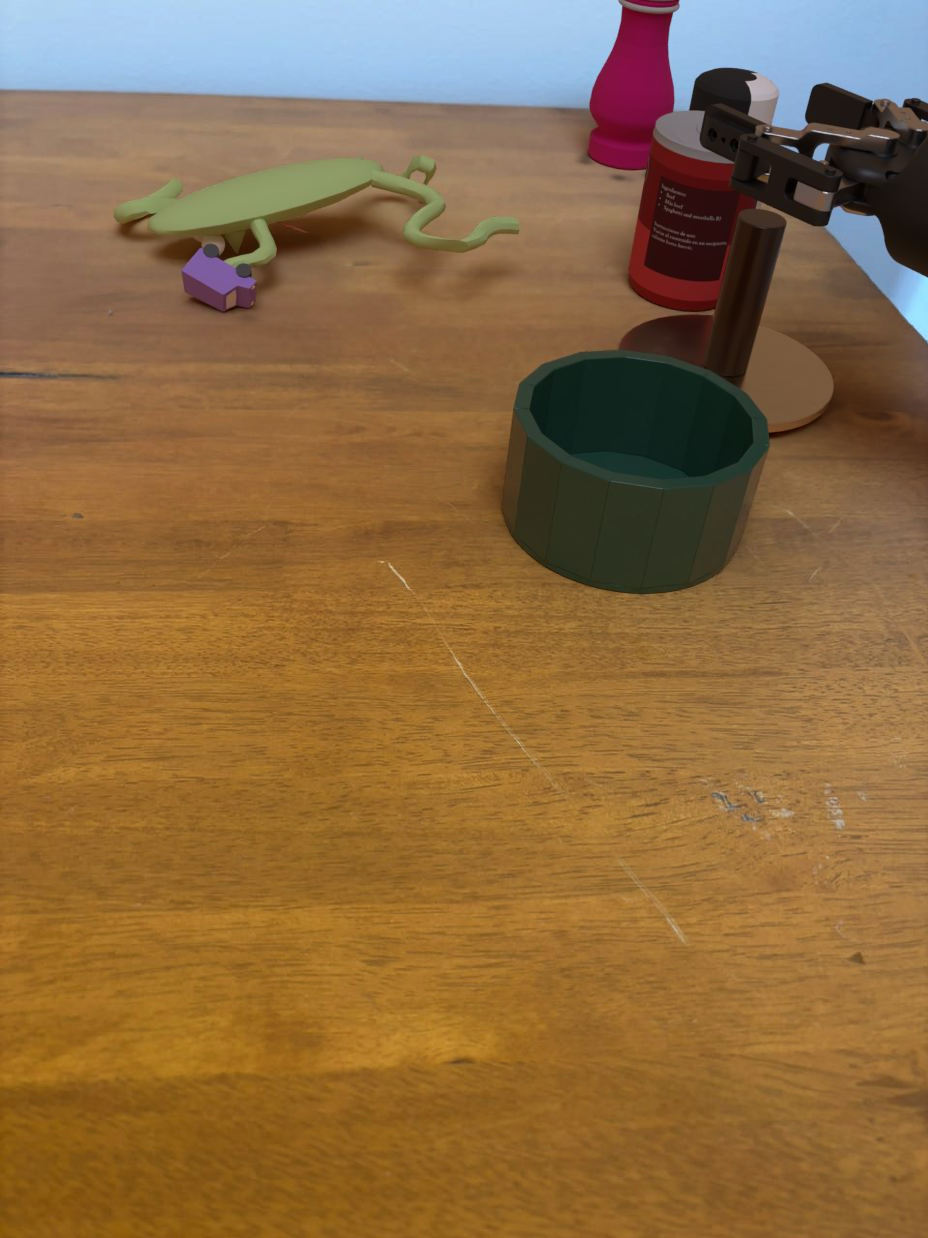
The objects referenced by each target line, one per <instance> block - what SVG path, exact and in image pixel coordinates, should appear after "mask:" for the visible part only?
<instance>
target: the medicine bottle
mask: <svg viewBox="0 0 928 1238" xmlns="http://www.w3.org/2000/svg"><path fill="white" fill-rule="evenodd" d="M779 95H780V90H779V87H778V86H777V84H776V83H775V82H774V81H773V80H772V79H770V78H768V77H767V76H765V75H763V74H762V73H760V72H756V71H754V70H750V69H745V68H738V67H717V68H713V69H709V70H707V71H703V72H701V73H700V74H699V75H698V76H696V77H695V79H694V83H693V88H692V92H691V98H690V101H689V103H690V104H689V108H688V111H705V110H706V108H707V107H708V106H710V105H714V104H719V103H721V104H724V105H726V106H728V107H731V108H733V109H735V110H737V111H740V112H742V113H744V114H746V115H749V116H751V117H753V118H755V119H757V120H760V121H762V122H764V123H766V124H769V125H772V126H773V122H774V121H773V120H774V117H775V113H776V108H777V104H778V100H779ZM762 204H763V203H762V202H760V201H757V200H756V204H755V208H754V209H762V208H761V207H762Z"/></svg>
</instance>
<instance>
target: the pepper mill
mask: <svg viewBox="0 0 928 1238" xmlns="http://www.w3.org/2000/svg"><path fill="white" fill-rule="evenodd" d="M617 1H618V3H619V4H620V6H621V15H620V22H619V27H618V31H617V36H616V38H615V40H614V44H613V47H612V49H611V51H610V53H609V54H608V56H607V59H606V60H605V62H604V63H603V65H602V67H601V69H600V71H599V73H598V75H597V76H596V79H595V81H594V83H593V86H592V89H591V93H590V99H589V102H588V103H589V104H588V107H589V112H590V114H591V117H592V119H593V120H594V123H596V127H594V128H593V129H592V130H591V131H590V134H589V141H588V149H587V153H588V154H589V156H590V158H591V159H592V160H594V161H596V162H598V164H599V163H600V164H602V165H605V166H608V167H610V168H611V167H612V168H615V169H620V170H644V169H646V168H647V162H648V156H649V151H650V146H651V142H652V136H653V131H654V128H655V125H656V121H657V120H658V119H659V118H660V117H662V116H663V115H666V114H669V113H673V112H674V109H675V85H674V80H673V76H672V69H671V64H670V58H669V56H670V55H669V54H670V53H669V39H670V29H671V24H672V21H673V17H674V13H675V12H678V10H679V9H680V6H681V5H680V0H617Z"/></svg>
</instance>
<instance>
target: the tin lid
mask: <svg viewBox="0 0 928 1238" xmlns="http://www.w3.org/2000/svg"><path fill="white" fill-rule="evenodd" d="M787 224H788V222H787V219H786V218H785V217H784V216H782V214H780V213H777V212H776V211H771V210H768V209H762V208H760V209H746V210H743V211H741V212H740V213H739V214H738V217H737V221H736V225H735V229H734V233H733V237H732V242H731V246H730V250H729V254H728V258H727V262H726V266H725V271H724V275H723V279H722V283H721V287H720V291H719V295H718V299H717V304H716V307H715V308H714V313H713V315H712V314H711V315H710V314H676V315H675V314H674V315H668V316H661V317H658V318H654V319H650V320H647V321H644V322H641V323H640V324H638V325H636V326H634V327H633V328H631V329H630V330H629V331H626V333H625V334H624V335H623V336H622V338H621V339H620V340H619V343H618V344H617V349H616V350H628V351H635V352H642V353H649V354H656V355H663V356H669V357H673V358H675V359H678V360H681V361H684V362H687V363H690V364H693V365H696V366H699V367H702V368H704V369H707V370H710V371H712V372H714V373H715V374H717V375H719V376H720V377H722V378H723V379H725V380H726V381H728V382H730V383H731V384H733V385H734V386H736V387H738V388H739V389H741V390H742V391H744V392H745V393H747V394H748V395H749V397H750V398H751V399H752V400H753V402H754V403H755V404H756V405H757V407H758V408H759V409H760V410H761V412H762V413H763V414H764V415H765V417H766V418H767V421H768V432H769V434H770V433H776V432H777V433H779V432H785V431H789V430H794V429H796V428H799V427H802V426H805V425H807V424H809V423H811V422H814V421H815V420H816V419H818V418H819V417H820V416H822V415H823V414H824V412H825V411H826V410H827V409H828V407H829V405H830V403H831V400H832V398H833V393H834V390H835V387H834V386H835V385H834V378H833V376H832V373H831V371H830V369H829V367H828V366H827V365H826V363H824V361H823V360H822V359H821V358H820V357H819V356H818V355H817V354H816V353H815V352H813V351H812V350H811V349H810V348H808V347H807V346H806V345H804V344H802V343H801V342H799V341H798V340H796V339H793V338H792V337H791V336H788V335H786V334H784V333H782V332H779V331H778V330H775V329H772V328H770V327H767V326H764V325H761V321H762V316H763V313H764V309H765V306H766V301H767V298H768V294H769V290H770V287H771V283H772V280H773V276H774V271H775V269H776V265H777V261H778V258H779V254H780V250H781V246H782V242H783V239H784V236H785V232H786V229H787V226H788V225H787Z"/></svg>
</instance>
